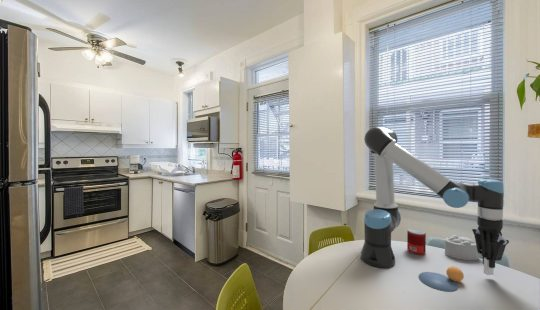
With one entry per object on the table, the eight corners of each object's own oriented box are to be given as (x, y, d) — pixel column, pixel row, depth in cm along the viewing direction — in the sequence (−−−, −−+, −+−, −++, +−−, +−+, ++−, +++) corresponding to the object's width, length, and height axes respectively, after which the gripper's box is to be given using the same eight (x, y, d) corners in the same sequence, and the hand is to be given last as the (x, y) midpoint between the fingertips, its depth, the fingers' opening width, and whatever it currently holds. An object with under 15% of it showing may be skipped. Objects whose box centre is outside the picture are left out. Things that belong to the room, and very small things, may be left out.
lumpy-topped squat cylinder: (482, 259, 110) (482, 242, 109) (454, 260, 110) (455, 242, 110) (463, 249, 120) (464, 233, 120) (438, 250, 120) (439, 234, 120)
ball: (442, 276, 97) (443, 263, 96) (454, 276, 97) (456, 264, 97) (453, 284, 91) (455, 271, 91) (466, 284, 91) (468, 271, 91)
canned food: (428, 255, 115) (428, 234, 114) (410, 254, 116) (410, 233, 116) (421, 248, 122) (421, 228, 122) (405, 247, 124) (405, 227, 123)
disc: (411, 273, 100) (411, 272, 100) (440, 271, 101) (440, 271, 101) (434, 292, 87) (434, 291, 87) (467, 290, 88) (467, 289, 88)
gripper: (516, 222, 88) (514, 282, 89) (482, 212, 101) (481, 265, 102) (497, 223, 87) (496, 283, 88) (466, 213, 100) (465, 265, 101)
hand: (488, 273), depth 95 cm, fingers closed
